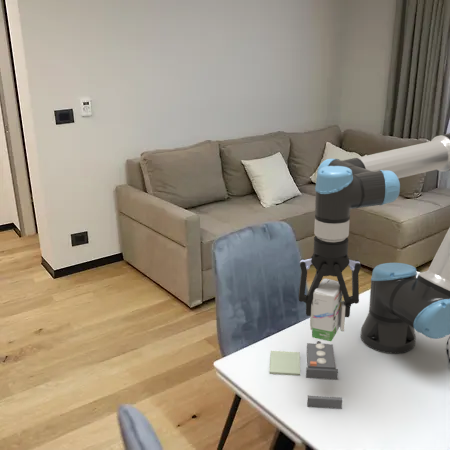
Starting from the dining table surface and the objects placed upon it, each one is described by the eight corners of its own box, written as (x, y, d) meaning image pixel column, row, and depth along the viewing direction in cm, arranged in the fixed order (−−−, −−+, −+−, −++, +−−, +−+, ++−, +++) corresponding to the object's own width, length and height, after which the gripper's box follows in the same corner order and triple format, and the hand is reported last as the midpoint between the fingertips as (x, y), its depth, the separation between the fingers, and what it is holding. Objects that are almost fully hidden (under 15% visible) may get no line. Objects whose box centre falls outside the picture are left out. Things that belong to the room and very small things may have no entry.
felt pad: (299, 354, 144) (299, 352, 144) (300, 375, 134) (300, 373, 134) (270, 352, 145) (270, 350, 145) (269, 373, 135) (269, 371, 135)
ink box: (331, 342, 118) (334, 296, 114) (311, 337, 120) (312, 291, 116) (341, 325, 125) (344, 280, 121) (321, 320, 127) (323, 277, 123)
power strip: (332, 344, 148) (333, 333, 147) (341, 409, 122) (342, 395, 121) (304, 343, 149) (304, 332, 148) (307, 406, 123) (308, 393, 122)
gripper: (373, 231, 117) (366, 321, 125) (287, 229, 119) (286, 318, 127) (378, 243, 110) (370, 337, 118) (287, 241, 112) (285, 334, 120)
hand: (326, 327), depth 122 cm, fingers closed on ink box, 6 cm apart
